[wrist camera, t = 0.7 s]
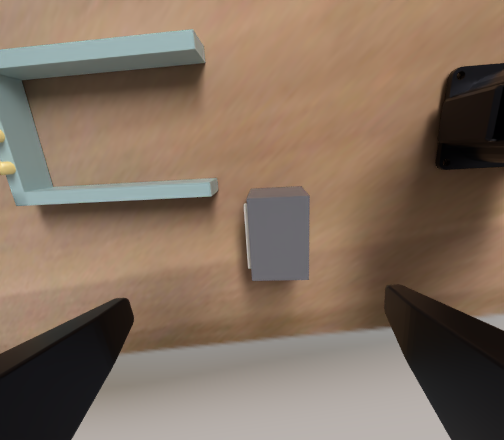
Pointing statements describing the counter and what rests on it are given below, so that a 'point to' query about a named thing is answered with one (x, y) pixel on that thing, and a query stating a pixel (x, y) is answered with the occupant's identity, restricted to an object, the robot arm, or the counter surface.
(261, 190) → the plug block
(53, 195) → the u-shaped coat rack
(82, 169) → the counter surface
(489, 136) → the robot arm
